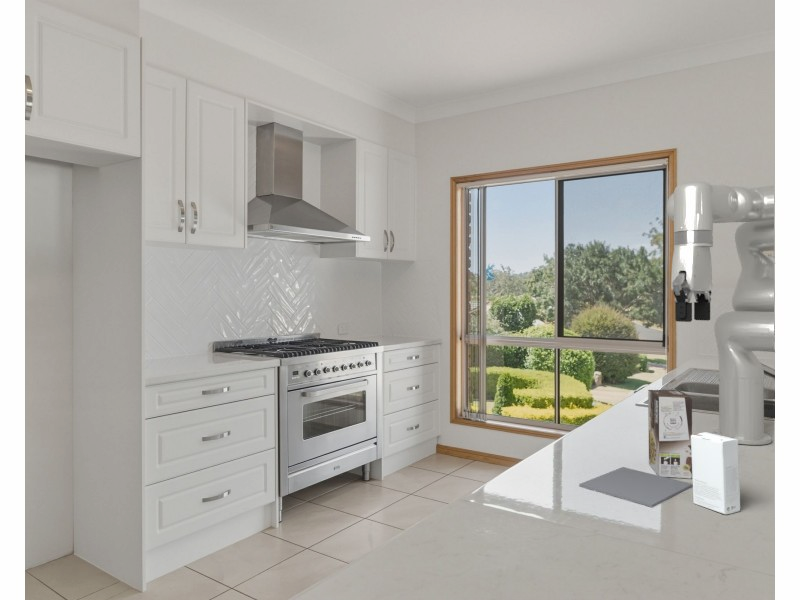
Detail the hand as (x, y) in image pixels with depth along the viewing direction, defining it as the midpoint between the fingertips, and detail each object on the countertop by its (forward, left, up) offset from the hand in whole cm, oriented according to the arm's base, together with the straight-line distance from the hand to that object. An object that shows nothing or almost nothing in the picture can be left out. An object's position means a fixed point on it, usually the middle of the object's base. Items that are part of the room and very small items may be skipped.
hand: (693, 320), depth 122 cm
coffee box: (+11, 0, -31) cm, 33 cm away
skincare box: (+25, +14, -31) cm, 42 cm away
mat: (+25, 0, -30) cm, 39 cm away
